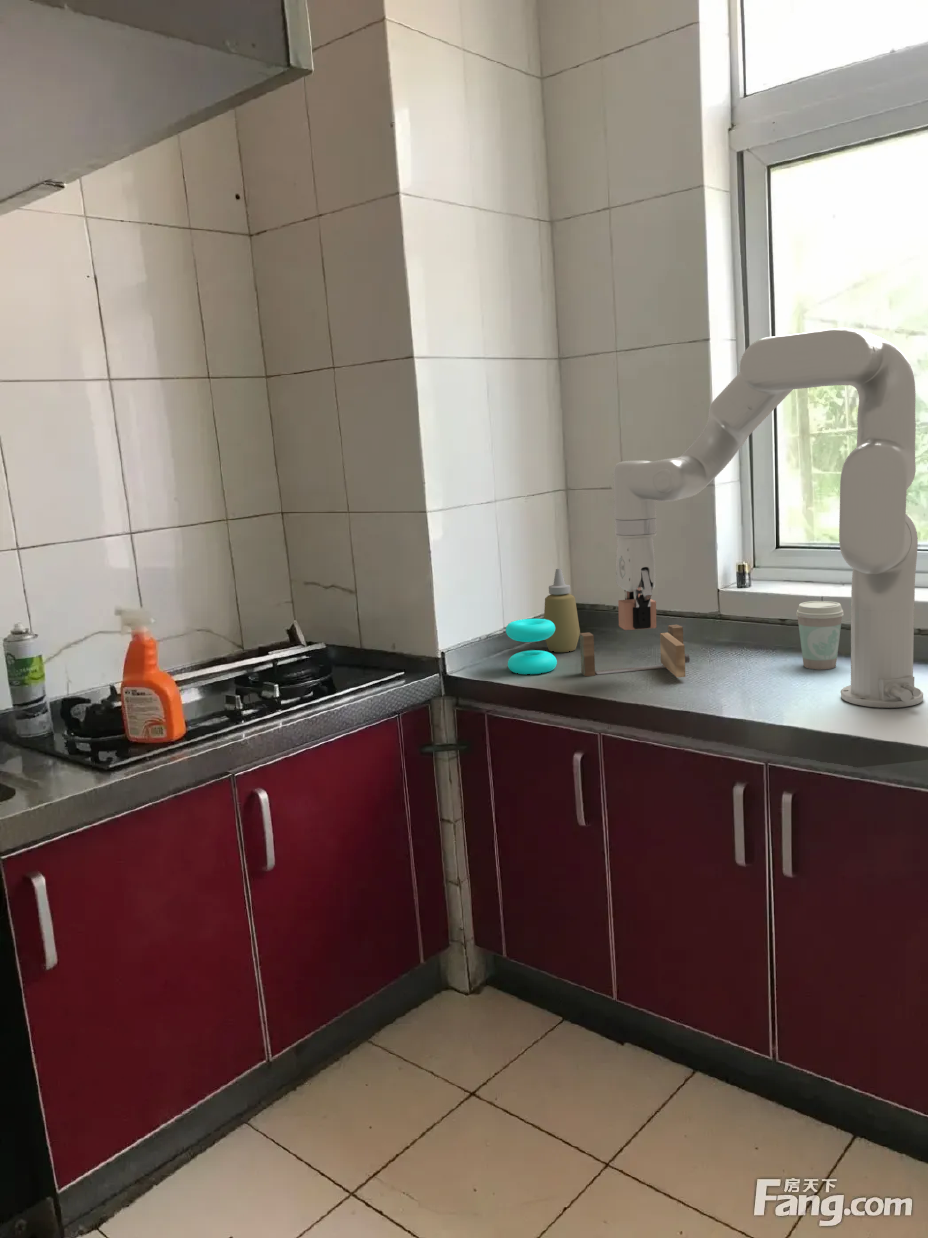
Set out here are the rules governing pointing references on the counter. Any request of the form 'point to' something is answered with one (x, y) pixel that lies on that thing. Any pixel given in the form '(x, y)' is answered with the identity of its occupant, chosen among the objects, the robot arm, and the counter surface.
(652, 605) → the salmon pink block
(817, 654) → the coffee cup
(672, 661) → the door
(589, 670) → the door frame
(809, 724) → the counter surface
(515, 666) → the donuts
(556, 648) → the squeeze bottle
